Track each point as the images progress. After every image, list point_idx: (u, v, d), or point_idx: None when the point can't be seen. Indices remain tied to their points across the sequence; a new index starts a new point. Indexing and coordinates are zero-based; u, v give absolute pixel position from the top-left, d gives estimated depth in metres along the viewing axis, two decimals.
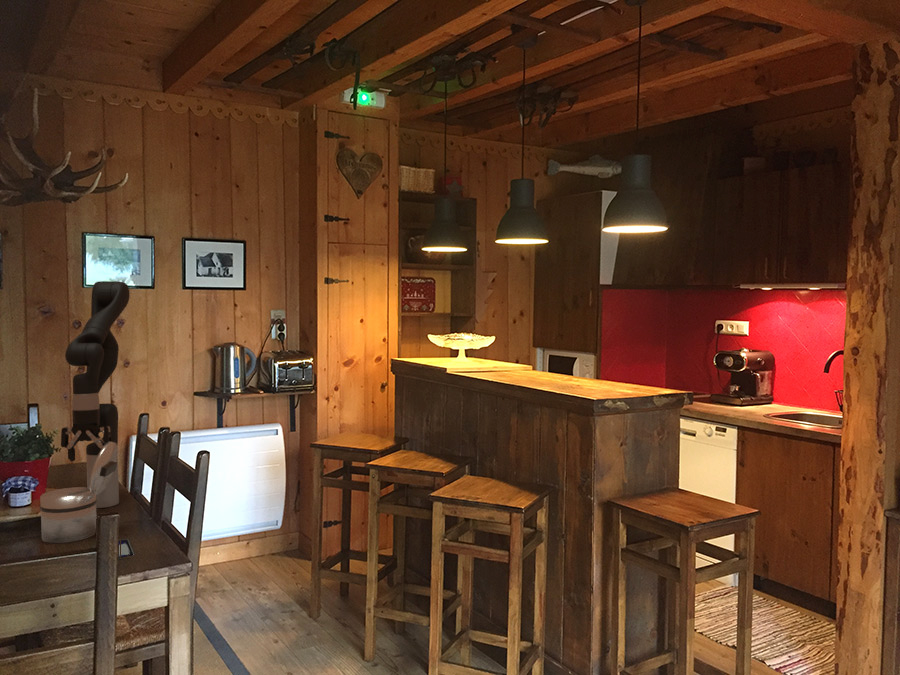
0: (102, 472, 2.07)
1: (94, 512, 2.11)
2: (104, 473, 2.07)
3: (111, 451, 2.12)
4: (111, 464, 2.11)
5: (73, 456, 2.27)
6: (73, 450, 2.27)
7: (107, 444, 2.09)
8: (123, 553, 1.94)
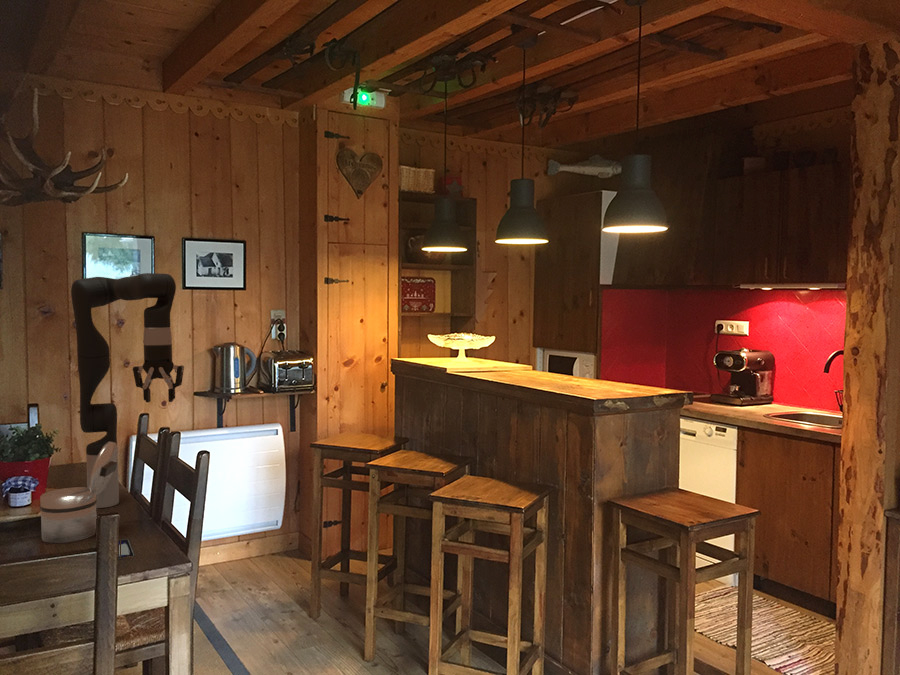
0: (102, 472, 2.07)
1: (94, 512, 2.11)
2: (104, 473, 2.07)
3: (111, 451, 2.12)
4: (111, 464, 2.11)
5: (149, 397, 2.12)
6: (149, 391, 2.12)
7: (107, 444, 2.09)
8: (123, 553, 1.94)
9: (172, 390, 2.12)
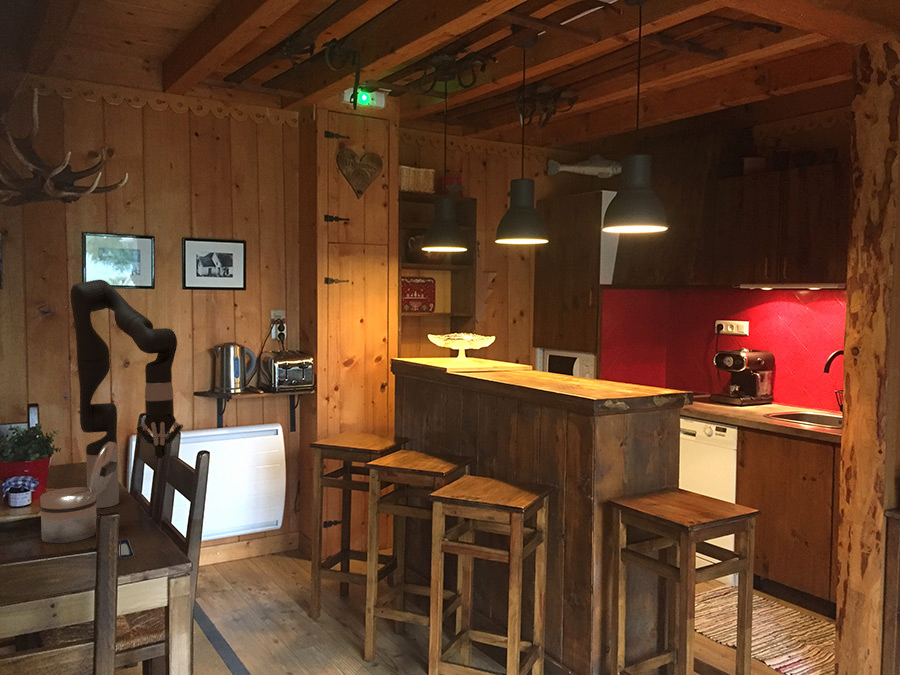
0: (102, 472, 2.07)
1: (94, 512, 2.11)
2: (104, 473, 2.07)
3: (111, 451, 2.12)
4: (111, 464, 2.11)
5: None
6: None
7: (107, 444, 2.09)
8: (123, 553, 1.94)
9: (163, 446, 2.12)
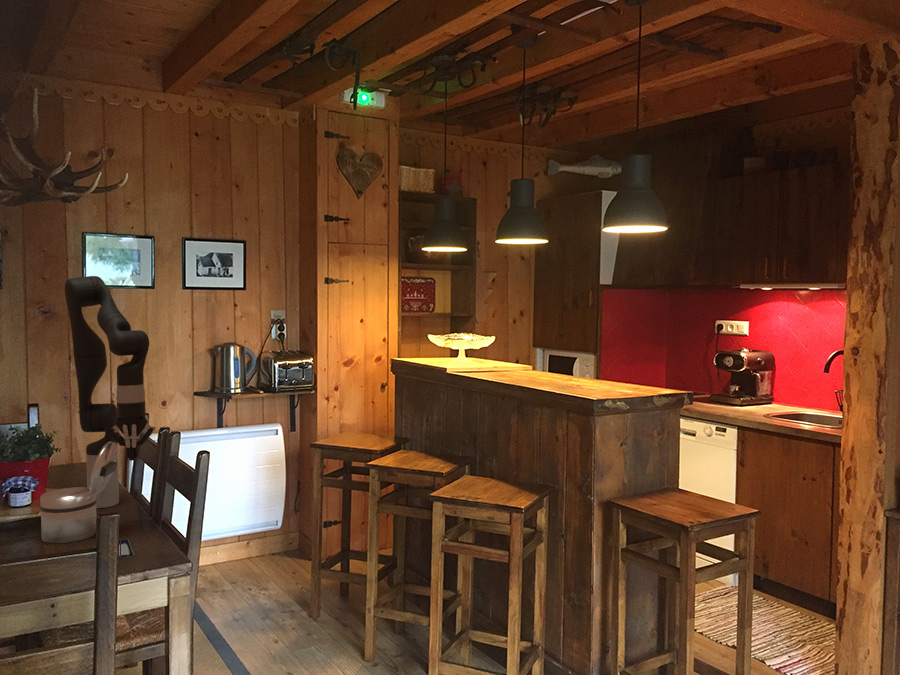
0: (102, 472, 2.07)
1: (94, 512, 2.11)
2: (104, 473, 2.07)
3: (111, 451, 2.12)
4: (111, 464, 2.11)
5: None
6: None
7: (107, 444, 2.09)
8: (123, 553, 1.94)
9: (135, 449, 2.12)
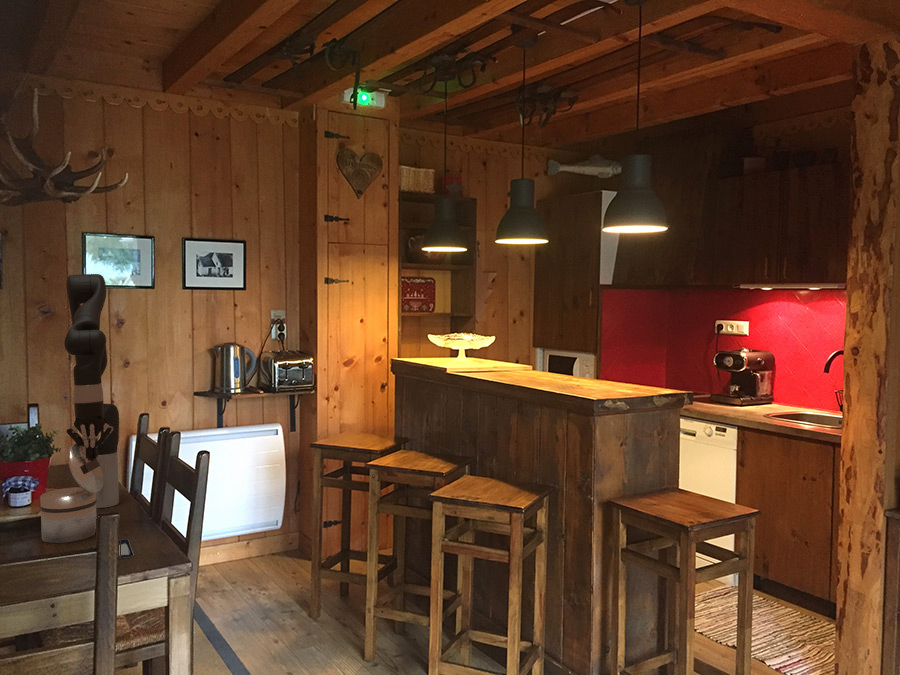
0: (84, 470, 2.06)
1: (94, 512, 2.11)
2: (86, 469, 2.06)
3: (82, 451, 2.11)
4: (90, 461, 2.11)
5: None
6: None
7: (71, 446, 2.08)
8: (123, 553, 1.94)
9: (94, 449, 2.11)
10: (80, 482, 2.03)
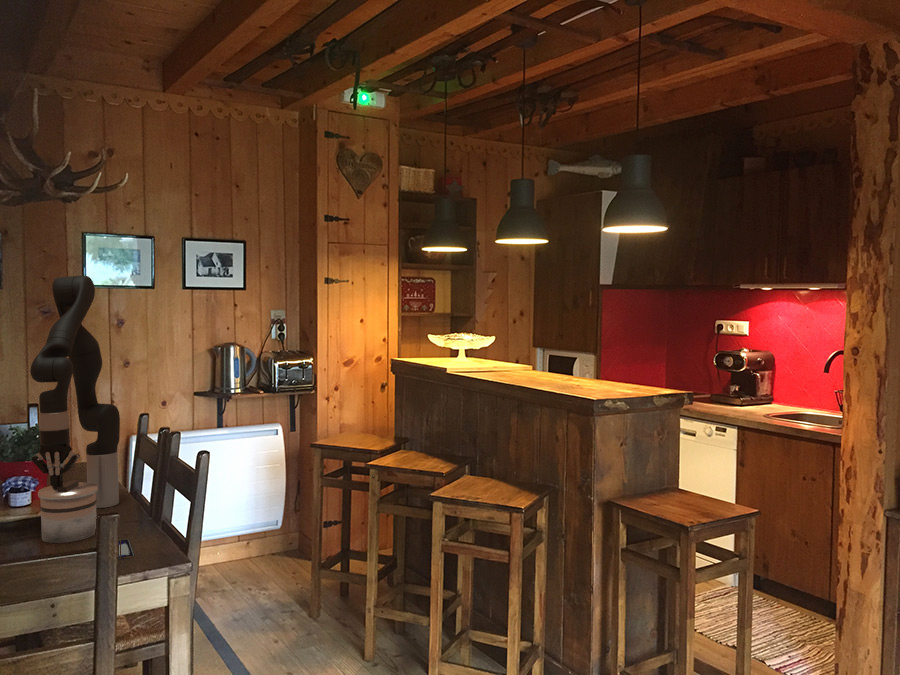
0: (62, 490, 2.06)
1: (94, 512, 2.11)
2: (62, 488, 2.06)
3: None
4: None
5: None
6: None
7: None
8: (123, 553, 1.94)
9: (59, 476, 2.10)
10: (67, 496, 2.03)
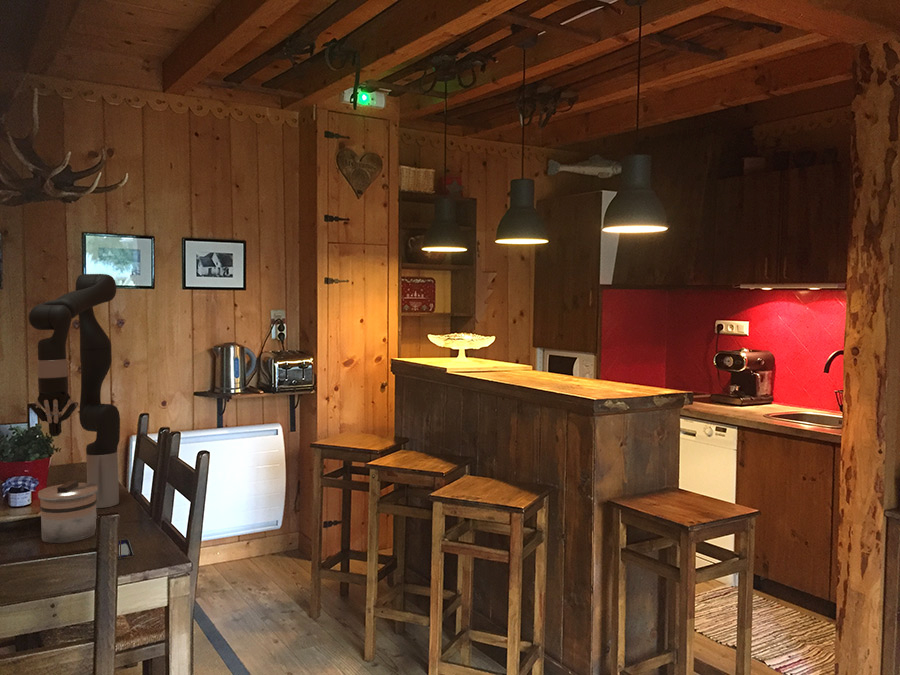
0: (62, 490, 2.06)
1: (94, 512, 2.11)
2: (62, 488, 2.06)
3: (53, 488, 2.11)
4: None
5: None
6: None
7: None
8: (123, 553, 1.94)
9: (57, 424, 2.10)
10: (67, 496, 2.03)
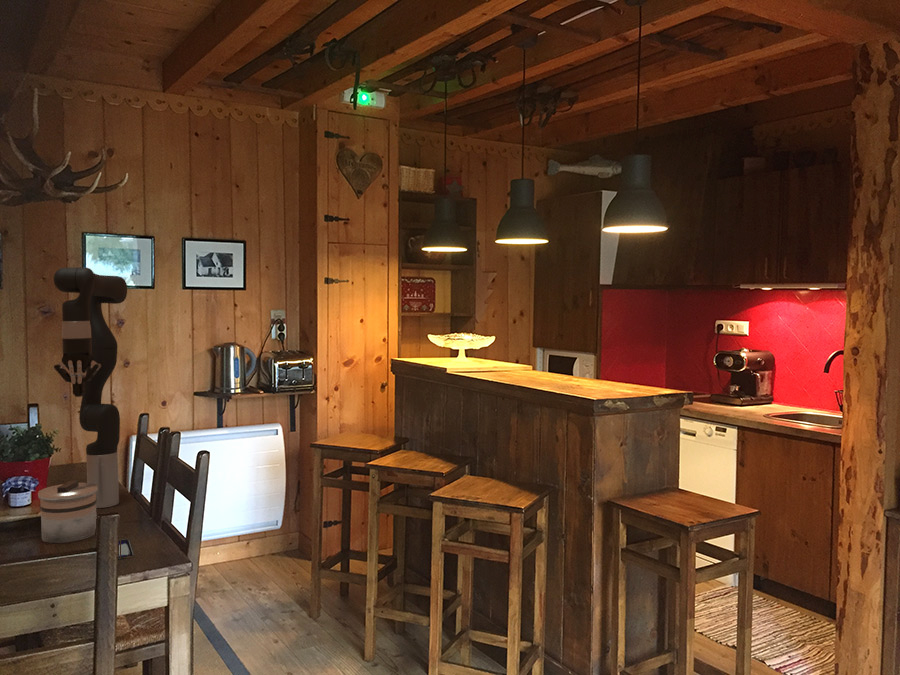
0: (62, 490, 2.06)
1: (94, 512, 2.11)
2: (62, 488, 2.06)
3: (53, 488, 2.11)
4: None
5: None
6: None
7: None
8: (123, 553, 1.94)
9: (81, 385, 2.14)
10: (67, 496, 2.03)
